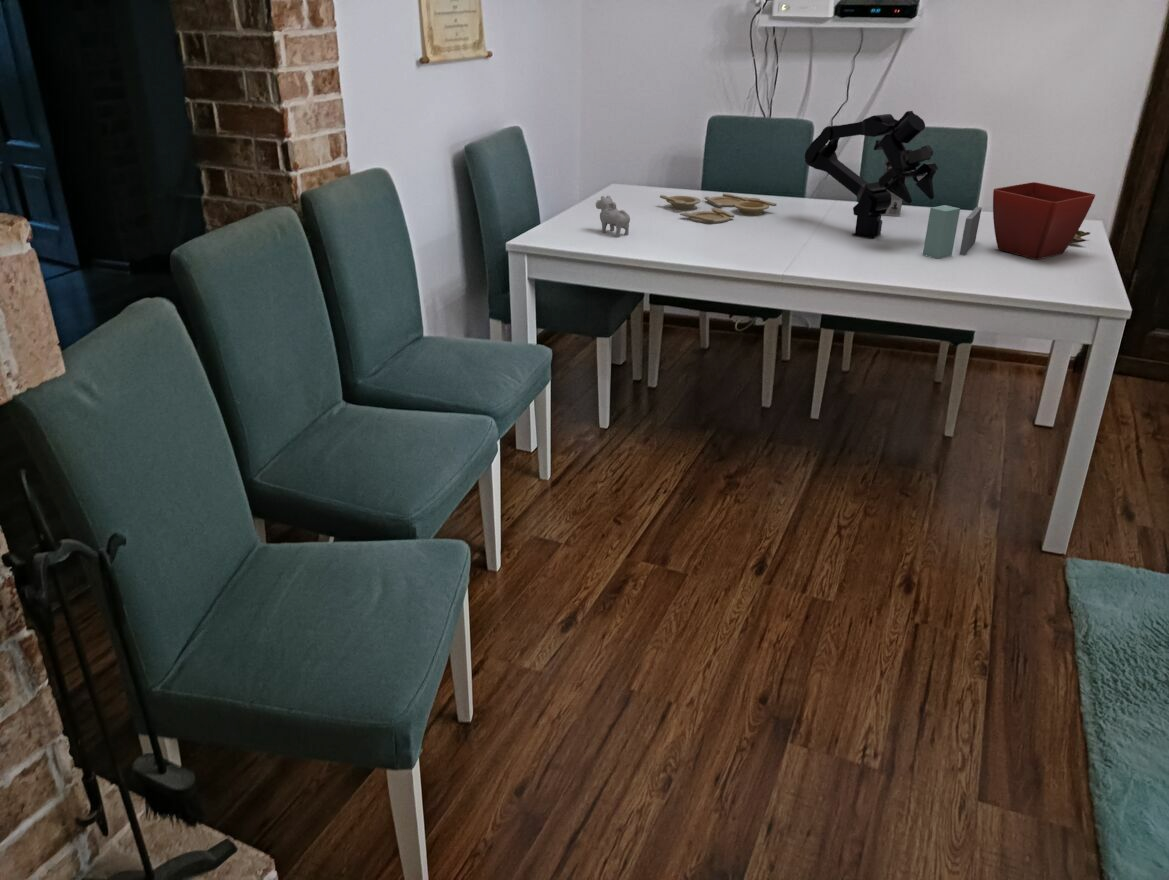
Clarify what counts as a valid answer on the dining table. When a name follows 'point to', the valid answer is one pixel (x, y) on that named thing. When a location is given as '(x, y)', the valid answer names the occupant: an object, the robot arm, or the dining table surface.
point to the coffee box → (893, 201)
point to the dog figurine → (612, 216)
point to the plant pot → (1038, 218)
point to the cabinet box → (941, 231)
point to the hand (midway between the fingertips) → (921, 200)
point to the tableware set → (716, 215)
